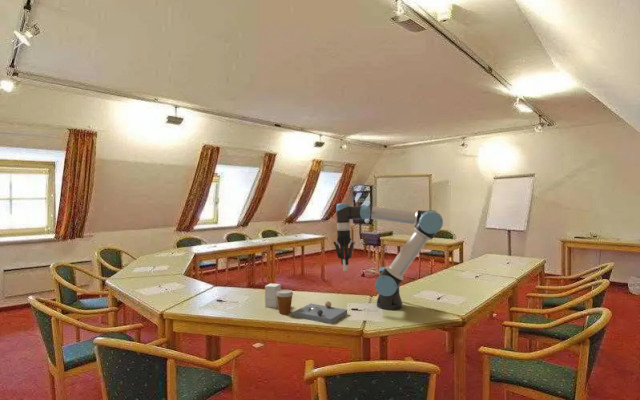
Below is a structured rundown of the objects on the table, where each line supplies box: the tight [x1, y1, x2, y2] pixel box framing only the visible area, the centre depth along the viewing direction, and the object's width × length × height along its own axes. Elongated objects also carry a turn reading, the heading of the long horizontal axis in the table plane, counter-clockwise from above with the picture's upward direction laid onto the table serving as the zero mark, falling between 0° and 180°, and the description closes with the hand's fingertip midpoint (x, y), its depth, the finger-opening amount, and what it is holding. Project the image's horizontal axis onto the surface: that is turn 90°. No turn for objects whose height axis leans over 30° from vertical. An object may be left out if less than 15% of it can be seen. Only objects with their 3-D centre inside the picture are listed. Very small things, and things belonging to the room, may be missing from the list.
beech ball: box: [324, 300, 332, 308], centre depth 206 cm, size 4×4×4 cm
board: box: [292, 303, 348, 325], centre depth 200 cm, size 24×18×2 cm
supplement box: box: [264, 282, 282, 309], centre depth 219 cm, size 7×7×13 cm
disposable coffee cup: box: [276, 289, 294, 315], centre depth 206 cm, size 10×10×12 cm
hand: (345, 270), depth 210 cm, fingers closed
